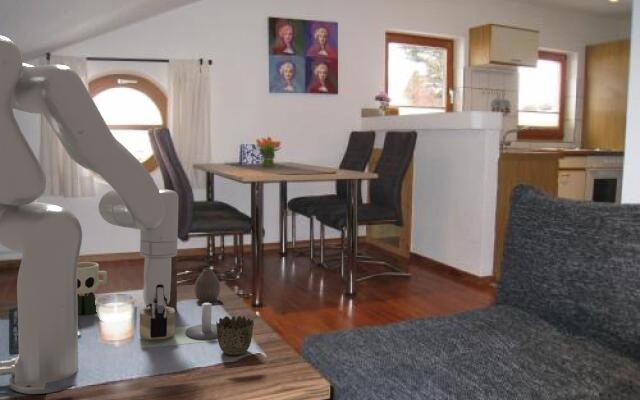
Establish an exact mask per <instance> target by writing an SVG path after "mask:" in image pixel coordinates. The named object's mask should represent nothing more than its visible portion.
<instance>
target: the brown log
mask: <svg viewBox="0 0 640 400" xmlns="http://www.w3.org/2000/svg"><path fill="white" fill-rule="evenodd" d="M177 241H178V238H177ZM177 306H178V254H177V255H176V256H174V257H171V289H170V301H169V303H168V304H166V307H171V308H174V310H175V313H176V312H177V309H178V307H177ZM147 307H149V305H146V304H145V308H147Z"/></svg>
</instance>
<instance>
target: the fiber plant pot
mask: <svg viewBox="0 0 640 400" xmlns="http://www.w3.org/2000/svg"><path fill="white" fill-rule="evenodd" d="M218 321H219V322H218ZM218 321H216V322H215V324H216V325H217V335H218V341H217V342H218V346H219V348H220V350H221V351H222V352H223V353H225V354H227V355H228V356H232V357H234V356H240V355H243V354H244V353H245V352H247V351H248V350H249V349H250V346H251V344H252V338H253V332H254V326H255V325H254V324H255V323H254V319H253V318H252V319H251V318H250V317H248V318H247V319H246V316H241V315H239V316H238V317H237V318H236V317H235V315H233V316H232V317H231V318H230V317H229V316H228V315H226V316H224V317H223V318H222V317H220V318H219V320H218Z"/></svg>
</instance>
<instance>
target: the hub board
mask: <svg viewBox="0 0 640 400" xmlns="http://www.w3.org/2000/svg"><path fill="white" fill-rule="evenodd" d="M201 306H202V307H201V324H196V325H187V326H175V335H173V336H170V337H168V338H166V339H153V340H150V339H146V338H141V337H140V334H139V333H138V335H139V344H140V348H141V349H147V348H157V347H166V346H167V347H168V346H178V345H187V344H189V345H190V344H199V343H209V342H218V335H217V325H216V323H212V302H211V303H203V302H202V303H201Z"/></svg>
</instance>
